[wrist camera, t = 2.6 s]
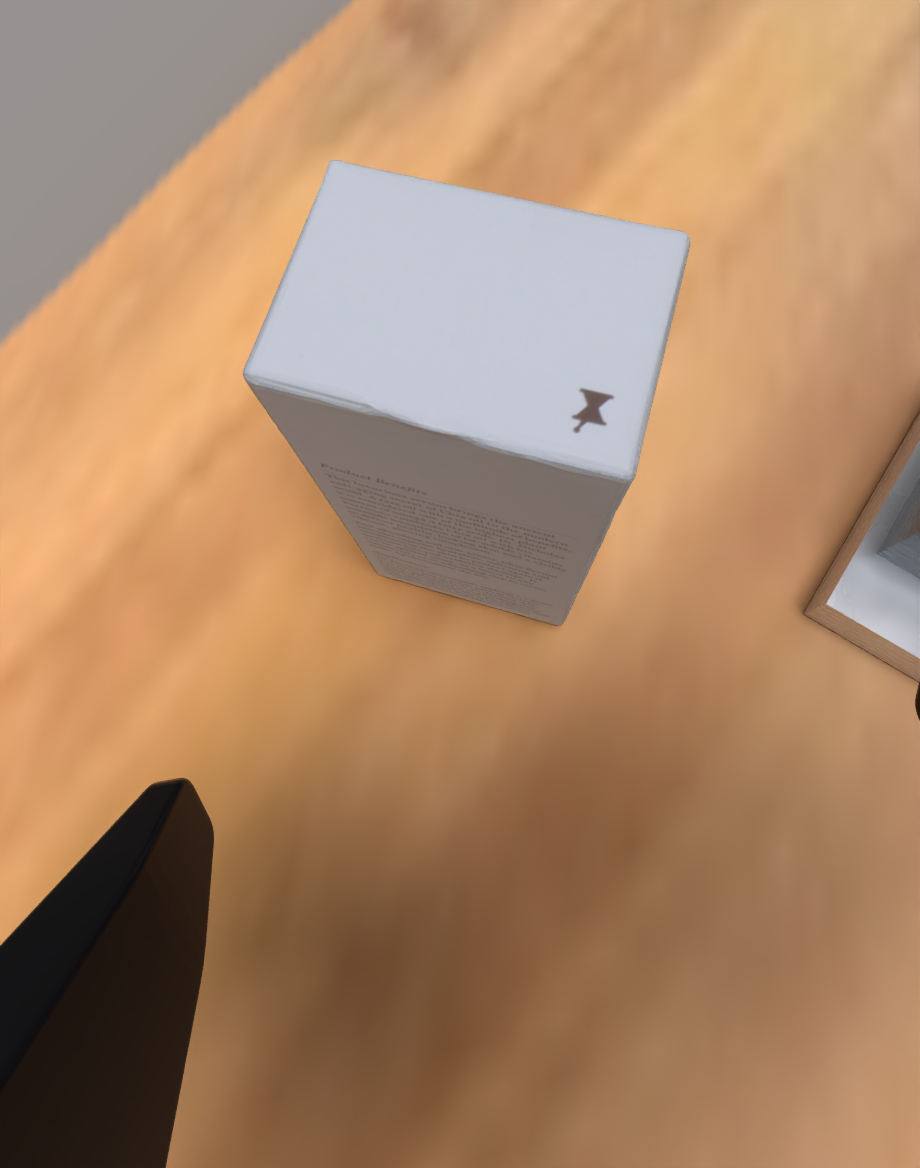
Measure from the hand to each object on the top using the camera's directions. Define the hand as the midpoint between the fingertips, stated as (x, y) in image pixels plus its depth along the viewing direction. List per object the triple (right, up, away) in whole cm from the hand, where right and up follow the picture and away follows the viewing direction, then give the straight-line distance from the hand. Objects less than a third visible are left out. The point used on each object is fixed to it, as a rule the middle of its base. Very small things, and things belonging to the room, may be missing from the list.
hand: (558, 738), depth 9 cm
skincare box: (0, +3, +14) cm, 14 cm away
